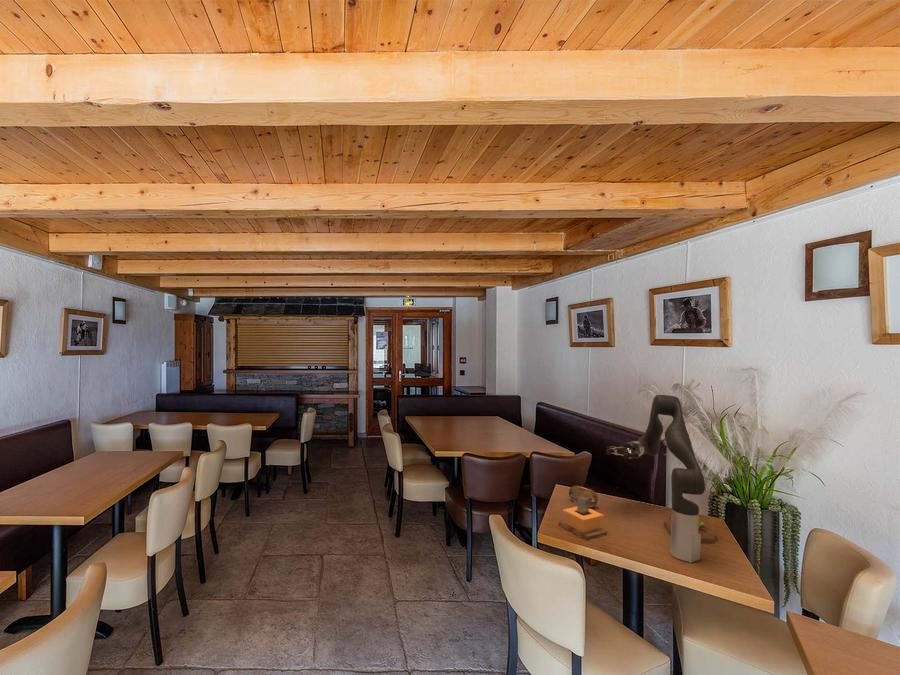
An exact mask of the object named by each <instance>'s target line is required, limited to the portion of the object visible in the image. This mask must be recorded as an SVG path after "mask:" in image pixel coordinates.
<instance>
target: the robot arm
mask: <svg viewBox="0 0 900 675" xmlns="http://www.w3.org/2000/svg"><path fill="white" fill-rule="evenodd" d="M682 409H683V408H682V403H681V400H680V399H679V397H677V396H675V395H666V394H656V395H655V396H654V397H653V400H652V404H651V409H650V412H649V413H650V414H649V421H648V425H647V428H646V430H645V433H644V435H642V436H640V437H639V438H638V440H633V441H628V442H625V443H623V444H622V445H621V446H615V445H610V446H606V450H605V454H606V455H607V456H608V455H609V456H610V455H612V454H613V455H615V456H622V457H623V459H625V460H626V459H627V460H628V459H629V460H631V459H634V460H637V459H639V458H641V456H643V455H646V454H647V455H648V456H651V457H652V456H653V457H654V456H656V455H658V454H659V453H660V449H661V437H662V436H663V432H664V439H665V444H666V447H667V449H668V450H669V452H670V453H671V454H672V455H673V456H674V457H675V458H676V459H678V460H679V461H680V462H681V463H682V464H683V465H684V467H685V468H679V467H675V468H673V469H672V472H671V480H670V482H671V484H670V485H671V517H670V518H671V535H670V549H669V550H670V551H669V552H670V555H671V556H672V557H674V558H675V559H678V560H681V561H684V562H688V563H694V562H697V561H700V560H701V546H702V545H701V544H702V543H701V534H699V533H698V528H699V523H700V519H699V518H700V508H699V505H698V504H697V503H696V502H693V501H691V500H689V499H687V498H685V497H684V496H683V495H684V494H685V495H687V494H688V495H695V496H697V495H698V496H699V495H703V494H704V493H705V491H706V481H705V477H704V475H703V472H702V469H701V467H700V465H699V463H698V460H697V458H696V455H695V452H694V449H693V444H692V441H691V438H690V435H689V432H688V429H687V426H686V423H685V418H684V415H683V410H682ZM659 415H660V416H667V417H672V421H671V422H670V424H668V426H667V427H666V429H665V431H664V425H663V423H662V421H661V420H660V418H659Z"/></svg>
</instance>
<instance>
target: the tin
mask: <svg viewBox="0 0 900 675" xmlns="http://www.w3.org/2000/svg"><path fill="white" fill-rule="evenodd" d="M568 496H569V498H570V500H571V501H572V502H573V503H574V502H575V503H574V504H577V499H578V498H579V497H581V496H583V497H586V498H589V507H590V508H593V507H596V506H597V504H598V500H599V499H598V498H599V497H598V495H597V493H596V492H595V491H594V490H593V489H590V488H587V487H583V486H579V485H572V486H571V487H570V488H569V491H568Z"/></svg>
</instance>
